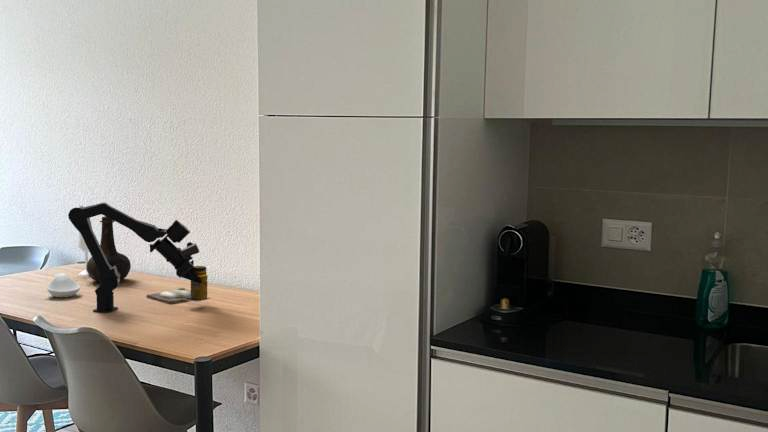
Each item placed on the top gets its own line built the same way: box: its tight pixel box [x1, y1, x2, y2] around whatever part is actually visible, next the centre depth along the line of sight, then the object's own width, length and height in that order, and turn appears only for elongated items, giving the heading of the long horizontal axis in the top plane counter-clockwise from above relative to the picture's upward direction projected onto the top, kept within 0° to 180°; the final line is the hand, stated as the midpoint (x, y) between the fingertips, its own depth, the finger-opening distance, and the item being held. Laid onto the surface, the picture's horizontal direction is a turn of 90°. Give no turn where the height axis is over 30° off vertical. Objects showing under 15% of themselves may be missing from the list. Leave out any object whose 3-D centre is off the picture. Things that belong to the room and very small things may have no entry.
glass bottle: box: [87, 215, 132, 284], centre depth 321 cm, size 18×18×28 cm
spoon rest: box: [47, 272, 81, 299], centre depth 298 cm, size 24×12×7 cm, turn 31°
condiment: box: [183, 265, 212, 303], centre depth 278 cm, size 7×8×12 cm
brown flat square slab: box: [146, 287, 191, 305], centre depth 294 cm, size 16×16×2 cm
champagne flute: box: [77, 219, 93, 276], centre depth 337 cm, size 7×7×24 cm
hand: (201, 281), depth 279 cm, fingers closed on condiment, 6 cm apart
